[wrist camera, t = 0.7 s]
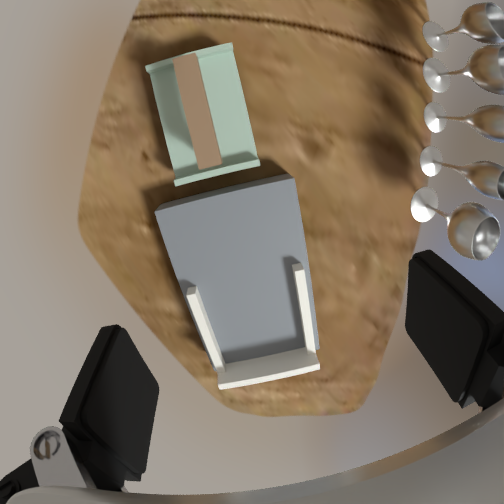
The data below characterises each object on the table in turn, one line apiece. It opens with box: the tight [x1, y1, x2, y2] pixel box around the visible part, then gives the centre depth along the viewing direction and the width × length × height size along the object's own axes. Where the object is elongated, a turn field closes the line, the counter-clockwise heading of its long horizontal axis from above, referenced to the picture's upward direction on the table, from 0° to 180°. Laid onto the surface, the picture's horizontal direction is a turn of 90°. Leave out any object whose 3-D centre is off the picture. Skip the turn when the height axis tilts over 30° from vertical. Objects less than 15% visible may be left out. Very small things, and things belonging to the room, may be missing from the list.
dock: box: [155, 173, 320, 390], centre depth 33 cm, size 22×14×6 cm, turn 12°
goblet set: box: [411, 2, 504, 260], centre depth 23 cm, size 28×6×13 cm, turn 177°
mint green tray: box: [145, 43, 260, 186], centre depth 24 cm, size 12×8×8 cm, turn 12°
